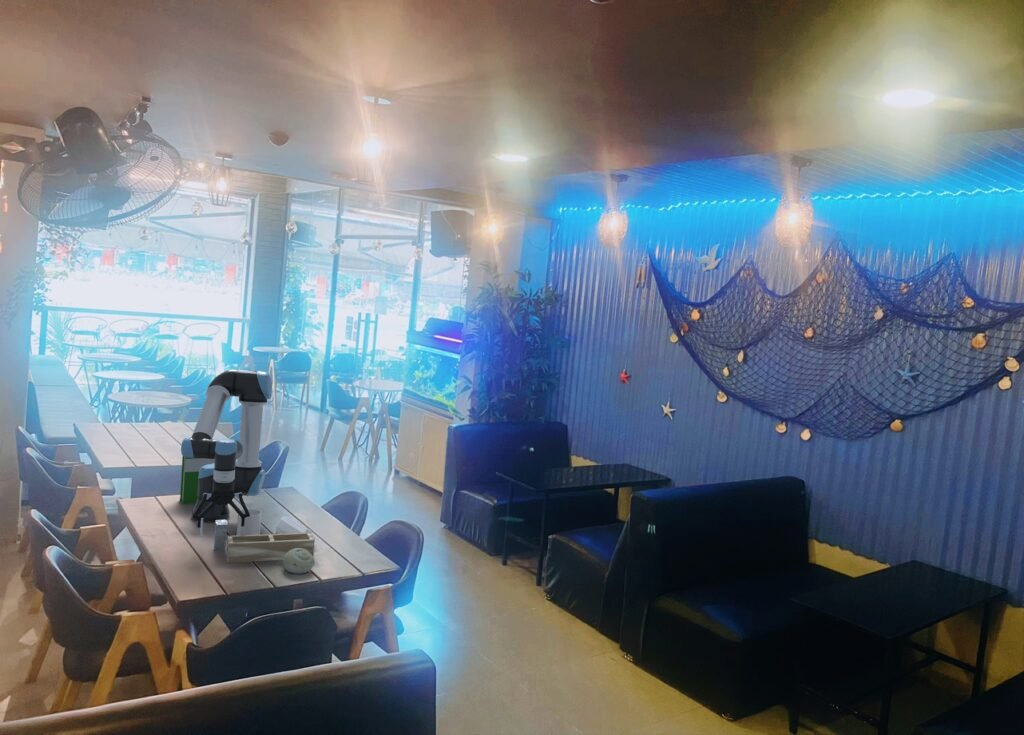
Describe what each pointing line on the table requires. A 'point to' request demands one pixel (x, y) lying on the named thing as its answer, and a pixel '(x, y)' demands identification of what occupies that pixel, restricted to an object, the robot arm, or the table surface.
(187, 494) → the hardback book
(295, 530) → the crystal
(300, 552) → the seashell
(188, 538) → the table surface
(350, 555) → the table surface
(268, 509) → the table surface
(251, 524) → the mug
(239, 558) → the well block
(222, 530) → the pale blue pillar block
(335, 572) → the table surface
